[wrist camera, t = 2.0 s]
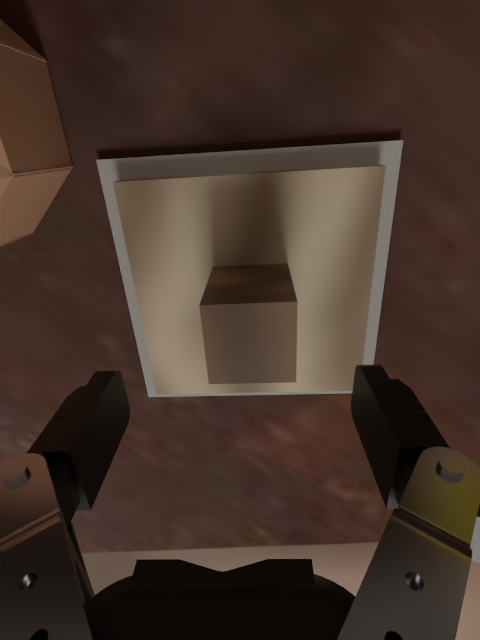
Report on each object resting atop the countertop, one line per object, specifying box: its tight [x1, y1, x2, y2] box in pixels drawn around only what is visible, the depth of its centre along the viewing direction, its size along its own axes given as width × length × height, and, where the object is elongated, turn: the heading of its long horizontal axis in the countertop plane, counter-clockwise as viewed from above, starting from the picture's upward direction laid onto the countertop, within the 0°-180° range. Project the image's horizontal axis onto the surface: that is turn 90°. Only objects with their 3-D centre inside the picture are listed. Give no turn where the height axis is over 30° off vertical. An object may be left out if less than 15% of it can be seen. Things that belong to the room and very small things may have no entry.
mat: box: [96, 140, 403, 397], centre depth 21 cm, size 15×15×1 cm
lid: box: [113, 164, 386, 394], centre depth 18 cm, size 13×13×6 cm
